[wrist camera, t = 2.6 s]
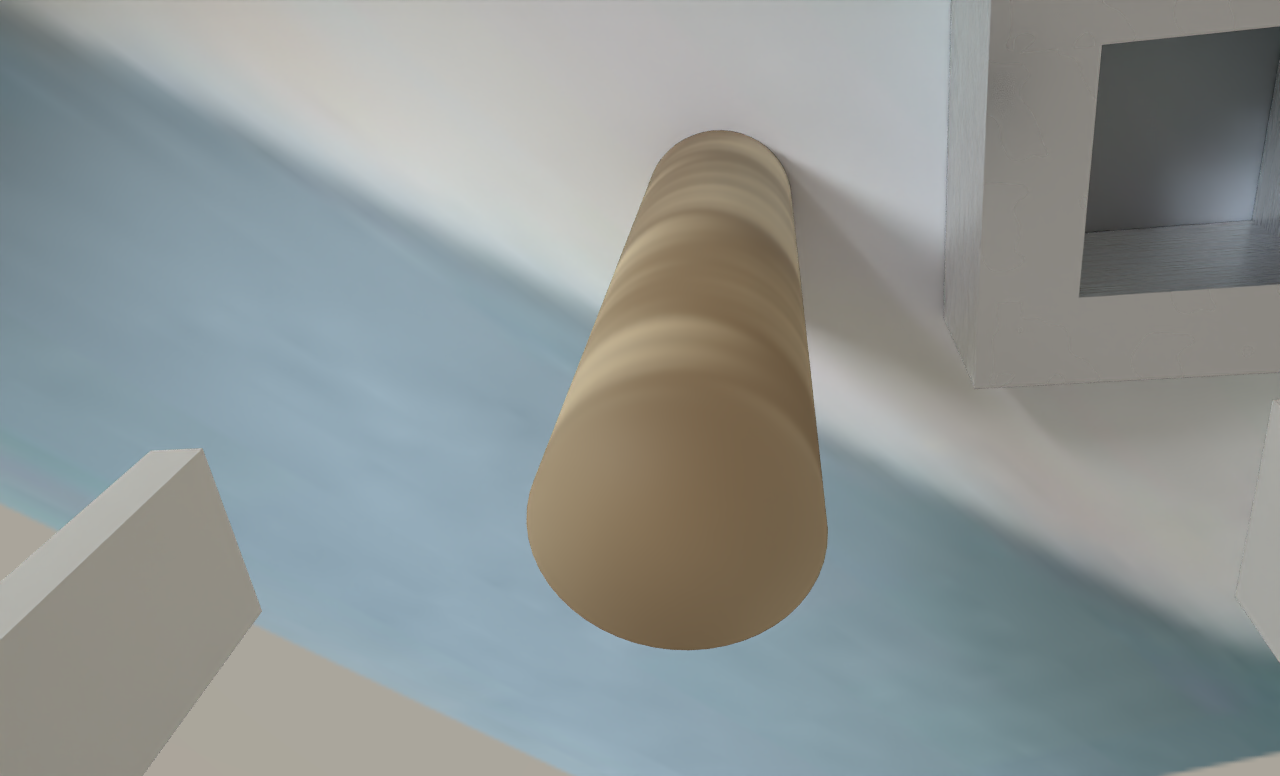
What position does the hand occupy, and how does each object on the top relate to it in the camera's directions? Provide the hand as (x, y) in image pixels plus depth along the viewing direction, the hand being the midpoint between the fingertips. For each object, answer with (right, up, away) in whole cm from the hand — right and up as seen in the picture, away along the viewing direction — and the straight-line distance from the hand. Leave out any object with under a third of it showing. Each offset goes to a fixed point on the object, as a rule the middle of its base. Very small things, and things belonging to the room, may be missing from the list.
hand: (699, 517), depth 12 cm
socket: (+11, +8, +10) cm, 16 cm away
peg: (+1, +6, +12) cm, 13 cm away
